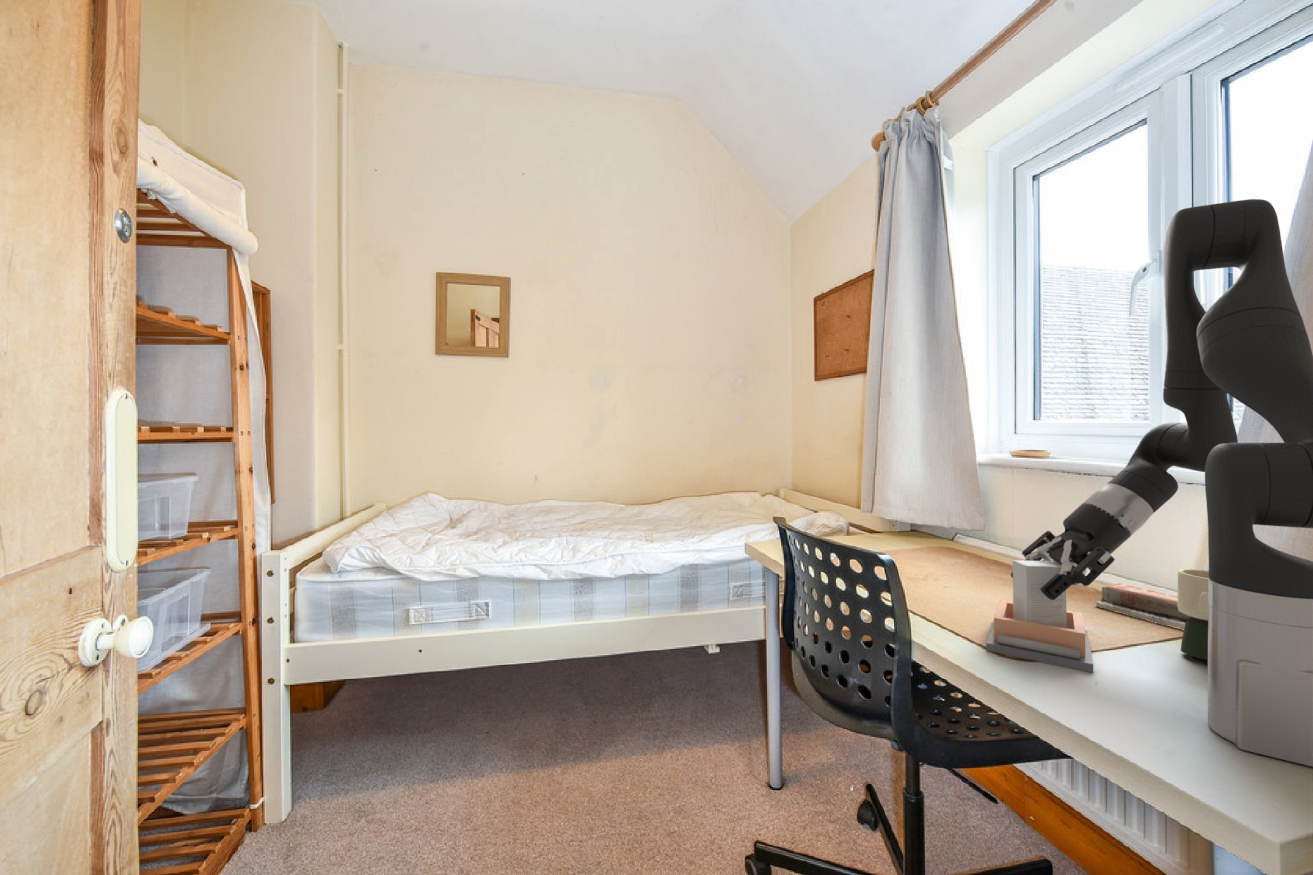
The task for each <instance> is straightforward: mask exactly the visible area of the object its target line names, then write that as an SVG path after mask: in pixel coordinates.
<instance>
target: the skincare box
mask: <svg viewBox="0 0 1313 875" xmlns="http://www.w3.org/2000/svg"><path fill="white" fill-rule="evenodd" d="M1061 568H1062V565H1060V564H1057V563H1054V562H1052V561H1043V560H1040V561H1025V560H1021V559H1020V560H1018V559H1017V560H1015V559H1014V560H1012V572H1013V578H1012V600H1013V601H1012V602H1013V619H1016V620H1022V621H1028V622H1033V623H1039V624H1045V625H1051V626H1056V627H1062V628H1067V619H1066V610H1067V589H1066V590H1065V591H1064V592H1063V593H1062V594H1061V595H1060V596H1058V597H1057V598H1056V599H1055V600H1051V599H1049V598H1047V597H1046V596H1045V595H1044V594H1043V593H1042V592H1041V588H1042V587H1043V586H1044V585H1045V584H1046V583H1047V582H1048V581H1049V580H1051V579H1052V578H1053V577H1054V576H1055V575H1056V574H1060V571H1061ZM1060 575H1061V574H1060Z"/></svg>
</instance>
